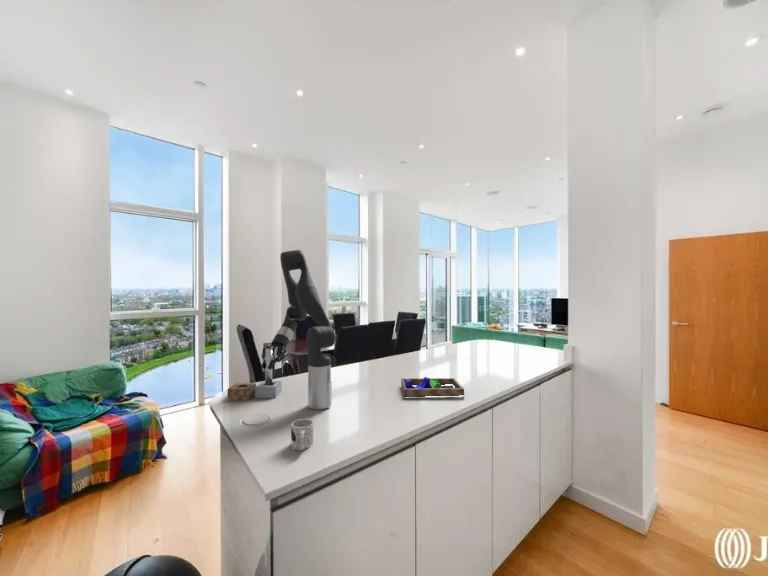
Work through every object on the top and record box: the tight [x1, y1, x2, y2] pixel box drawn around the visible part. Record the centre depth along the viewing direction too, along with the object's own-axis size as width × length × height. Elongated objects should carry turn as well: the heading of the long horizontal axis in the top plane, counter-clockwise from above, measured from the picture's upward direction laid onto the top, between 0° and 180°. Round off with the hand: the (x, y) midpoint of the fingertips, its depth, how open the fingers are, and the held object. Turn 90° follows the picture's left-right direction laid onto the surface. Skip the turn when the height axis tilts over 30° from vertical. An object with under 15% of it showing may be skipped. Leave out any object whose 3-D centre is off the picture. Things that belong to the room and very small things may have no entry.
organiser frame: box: [400, 377, 465, 398], centre depth 150 cm, size 27×18×4 cm, turn 91°
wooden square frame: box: [226, 382, 257, 401], centre depth 142 cm, size 9×9×5 cm
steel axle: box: [264, 349, 273, 385], centre depth 145 cm, size 3×3×16 cm
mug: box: [290, 418, 314, 451], centre depth 96 cm, size 10×7×7 cm
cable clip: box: [405, 376, 431, 389], centre depth 150 cm, size 12×4×6 cm, turn 118°
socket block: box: [254, 380, 283, 399], centre depth 145 cm, size 9×9×5 cm
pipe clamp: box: [430, 379, 442, 389], centre depth 151 cm, size 11×4×5 cm, turn 0°
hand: (266, 368), depth 143 cm, fingers closed on steel axle, 3 cm apart
